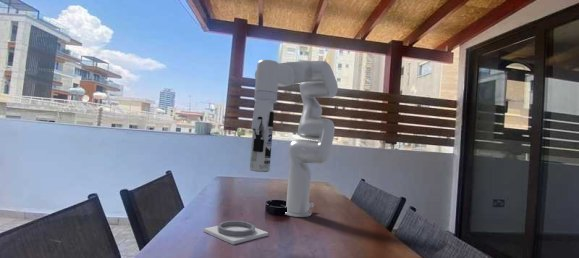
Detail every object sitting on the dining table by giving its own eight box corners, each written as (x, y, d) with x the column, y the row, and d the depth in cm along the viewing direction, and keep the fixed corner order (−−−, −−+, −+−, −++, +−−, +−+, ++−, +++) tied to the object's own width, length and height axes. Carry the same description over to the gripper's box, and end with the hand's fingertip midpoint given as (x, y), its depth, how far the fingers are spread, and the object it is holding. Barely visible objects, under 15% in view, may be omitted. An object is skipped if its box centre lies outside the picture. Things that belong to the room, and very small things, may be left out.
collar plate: (238, 224, 126) (238, 217, 126) (267, 235, 116) (268, 228, 116) (203, 231, 114) (204, 223, 114) (233, 244, 104) (233, 236, 104)
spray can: (266, 173, 112) (272, 111, 112) (246, 170, 113) (252, 109, 113) (271, 170, 119) (276, 112, 119) (252, 168, 120) (257, 111, 120)
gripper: (260, 99, 125) (256, 149, 125) (247, 94, 108) (242, 151, 108) (281, 101, 124) (276, 151, 124) (271, 95, 107) (265, 153, 107)
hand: (260, 150), depth 116 cm, fingers closed on spray can, 6 cm apart
